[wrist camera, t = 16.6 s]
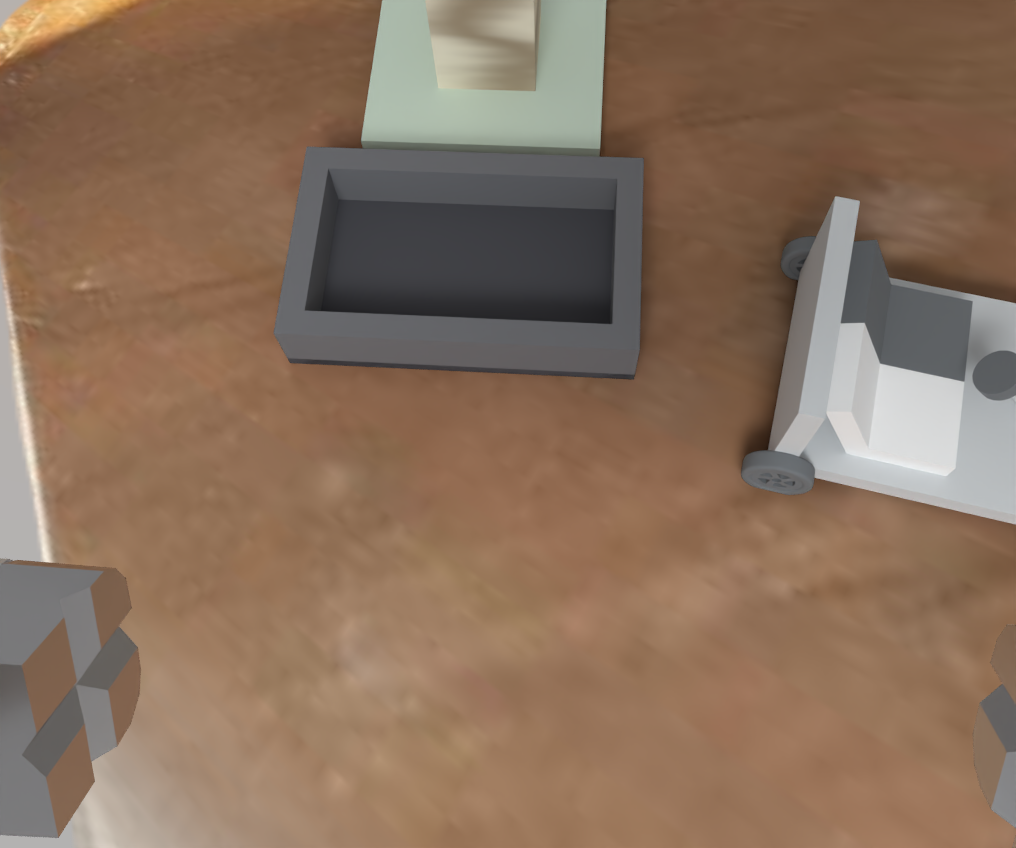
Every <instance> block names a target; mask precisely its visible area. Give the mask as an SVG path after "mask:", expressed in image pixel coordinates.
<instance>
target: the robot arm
mask: <svg viewBox="0 0 1016 848" xmlns="http://www.w3.org/2000/svg"><path fill="white" fill-rule="evenodd" d="M131 608H132V607H131V601H130V596H129V591H128V586H127V581H126V578H125V577H124V576H123V575H122V574H121V573H120V572H119V571H118V570H117V569H116V568H108V567H96V566H83V565H71V564H59V563H47V562H35V561H23V560H16V561H12V560H10V559H0V835H12V836H32V837H52V838H59V836H60V834H61V833H62V831H63V830H64V828H65V827H66V825H67V824H68V822H69V821H70V819H71V817H72V816H73V814H74V813H75V811H76V810H77V808H78V807H79V805H80V804H81V802H82V800H83V799H84V797H85V796H86V794H87V793H88V791H89V790H90V788H91V786H92V785H93V783H94V782H95V780H94V774H93V769H92V763H91V761H93V760H95V759H96V758H98V757H100V756H101V755H103V754H105V753H106V752H108V751H110V750H112V749H113V748H115V747H117V746H118V744H119V742H120V741H121V739H122V737H123V736H124V734H125V732H126V731H127V729H128V727H129V726H130V724H131V721H132V718H133V714H134V711H135V708H136V704H137V701H138V697H139V694H140V675H141V667H140V660H139V653H138V647H137V646H136V645H135V644H134V643H133V642H132V640H131V639H130V638H129V637H128V636H127V635H126V634H125V633H124V632H123V630H122V629H121V628H120V627H119V626H120V624H121V623H122V621H123V620H124V619H125V617H126V616H127V614H128V613H129V611H130V610H131ZM990 663H991V665H992V667H993V668H994V670H995V672H996V673H997V675H998V677H999V679H1000V680H1001V682H1002V685H1001V686H999V687H998V688H997V689H996V690H995V691H993V692H992V693H991V694H990V695H989V696H987V697H986V698H985V699H984V700H983V701H981V702H980V703H979V708H978V712H977V717H976V721H975V726H974V730H973V751H974V766H975V770H976V773H977V777H978V781H979V784H980V788H981V790H982V792H983V794H984V796H985V798H986V800H987V802H988V804H989V806H990V808H991V810H992V811H994V812H995V813H996V814H998V815H999V816H1000V817H1002V818H1003V819H1004V820H1006V821H1007V822H1008V823H1010V824H1011V825H1012V826H1014V827H1015V828H1016V625H1006V627H1005V628H1004V630H1003V631H1002V633H1001V634H1000V636H999V637H998V639H997V641H996V645H995V648H994V652H993V655H992V659H991V662H990ZM1012 848H1016V836H1015V840H1014V843H1013V846H1012Z"/></svg>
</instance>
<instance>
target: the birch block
mask: <svg viewBox="0 0 1016 848" xmlns="http://www.w3.org/2000/svg"><path fill="white" fill-rule="evenodd" d="M425 3H426V10H427V16H428V23H429V30H430V36H431V43H432V50H433V57H434V63H435V70H436V77H437V83H438V88H447V89H479V90H511V91H535V90H536V76H537V63H538V49H539V36H540V23H541V0H425Z"/></svg>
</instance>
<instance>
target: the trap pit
mask: <svg viewBox="0 0 1016 848" xmlns="http://www.w3.org/2000/svg"><path fill="white" fill-rule="evenodd" d="M643 170H644V158H624V157H594V156H565V155H536V154H506V153H477V152H448V151H418V150H389V149H360V148H330V147H307V149H306V154H305V160H304V166H303V171H302V177H301V182H300V188H299V194H298V199H297V205H296V211H295V216H294V222H293V227H292V233H291V239H290V244H289V250H288V255H287V261H286V267H285V272H284V278H283V284H282V289H281V295H280V300H279V306H278V312H277V317H276V323H275V328H274V335H275V337H276V339H277V340H278V342H279V344H280V346H281V347H282V349H283V351H284V353H285V354H286V356H287V358H288V360H289V362H290V363H302V364H323V365H344V366H365V367H386V368H407V369H428V370H449V371H470V372H491V373H512V374H533V375H553V376H574V377H595V378H616V379H634V376H635V371H636V366H637V361H638V356H639V351H640V311H641V264H642V217H643Z"/></svg>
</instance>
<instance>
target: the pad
mask: <svg viewBox="0 0 1016 848" xmlns="http://www.w3.org/2000/svg"><path fill="white" fill-rule="evenodd" d="M605 20H606V0H541V23H540V36H539V49H538V63H537V76H536V90H535V91H511V90H479V89H447V88H438V83H437V77H436V70H435V63H434V57H433V50H432V43H431V36H430V30H429V23H428V16H427V10H426V3H425V0H382V7H381V13H380V20H379V26H378V33H377V39H376V46H375V52H374V59H373V65H372V72H371V78H370V85H369V91H368V98H367V104H366V111H365V118H364V124H363V131H362V137H361V143H362V146H363V149H389V150H418V151H448V152H477V153H506V154H536V155H565V156H594V157H600V140H601V116H602V92H603V68H604V44H605Z"/></svg>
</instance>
